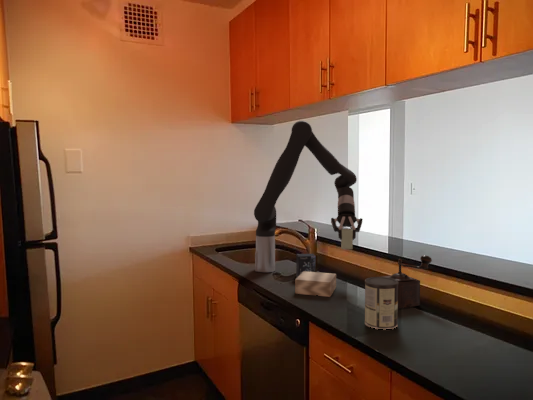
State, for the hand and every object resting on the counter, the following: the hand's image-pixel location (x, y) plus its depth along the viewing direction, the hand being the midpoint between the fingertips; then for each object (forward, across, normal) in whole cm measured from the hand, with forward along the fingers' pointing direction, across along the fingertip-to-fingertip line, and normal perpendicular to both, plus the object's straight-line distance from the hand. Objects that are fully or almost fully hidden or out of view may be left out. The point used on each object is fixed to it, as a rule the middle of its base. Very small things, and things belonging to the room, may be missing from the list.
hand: (347, 238), depth 176 cm
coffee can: (+45, +9, -17) cm, 49 cm away
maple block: (+21, -13, +8) cm, 26 cm away
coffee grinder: (+29, +20, 0) cm, 35 cm away
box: (+7, -18, +21) cm, 29 cm away
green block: (+2, 0, +4) cm, 5 cm away
